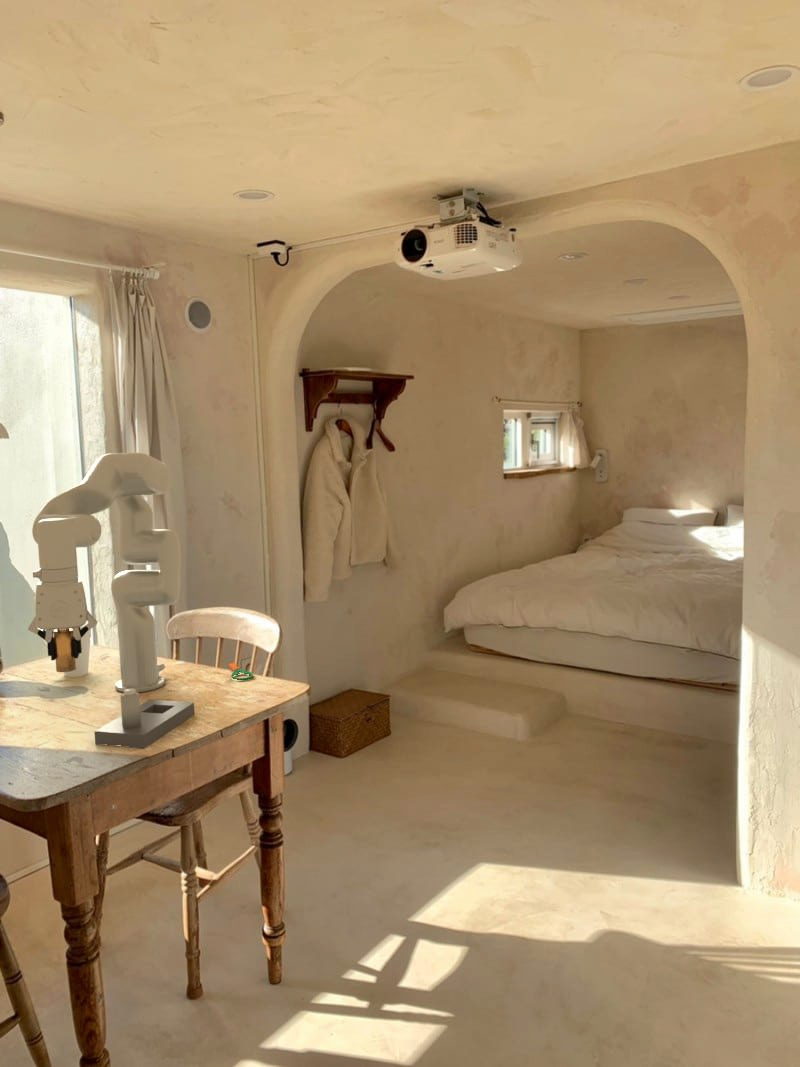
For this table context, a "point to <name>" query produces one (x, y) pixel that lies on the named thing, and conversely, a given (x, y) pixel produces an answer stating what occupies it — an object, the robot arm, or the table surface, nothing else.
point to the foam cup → (81, 657)
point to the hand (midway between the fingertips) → (65, 656)
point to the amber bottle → (64, 650)
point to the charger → (143, 721)
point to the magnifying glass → (237, 670)
